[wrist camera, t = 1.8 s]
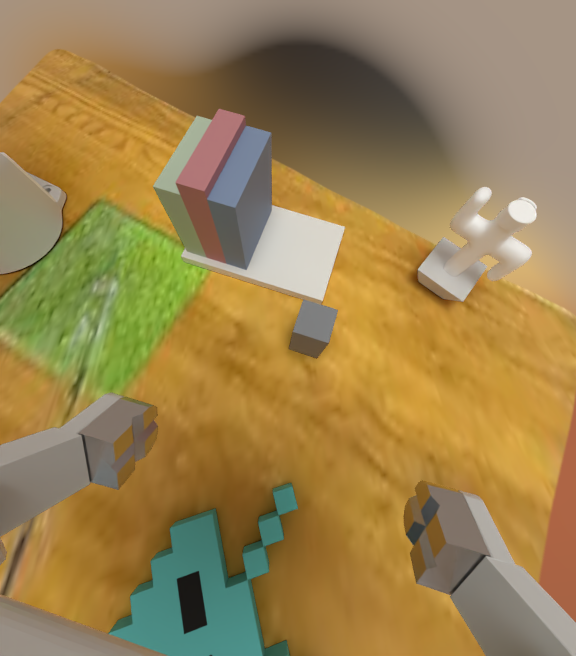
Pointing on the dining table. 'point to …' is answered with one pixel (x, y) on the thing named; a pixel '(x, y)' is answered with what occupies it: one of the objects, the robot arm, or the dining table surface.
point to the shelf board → (288, 256)
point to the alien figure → (204, 591)
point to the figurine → (477, 247)
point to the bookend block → (312, 328)
